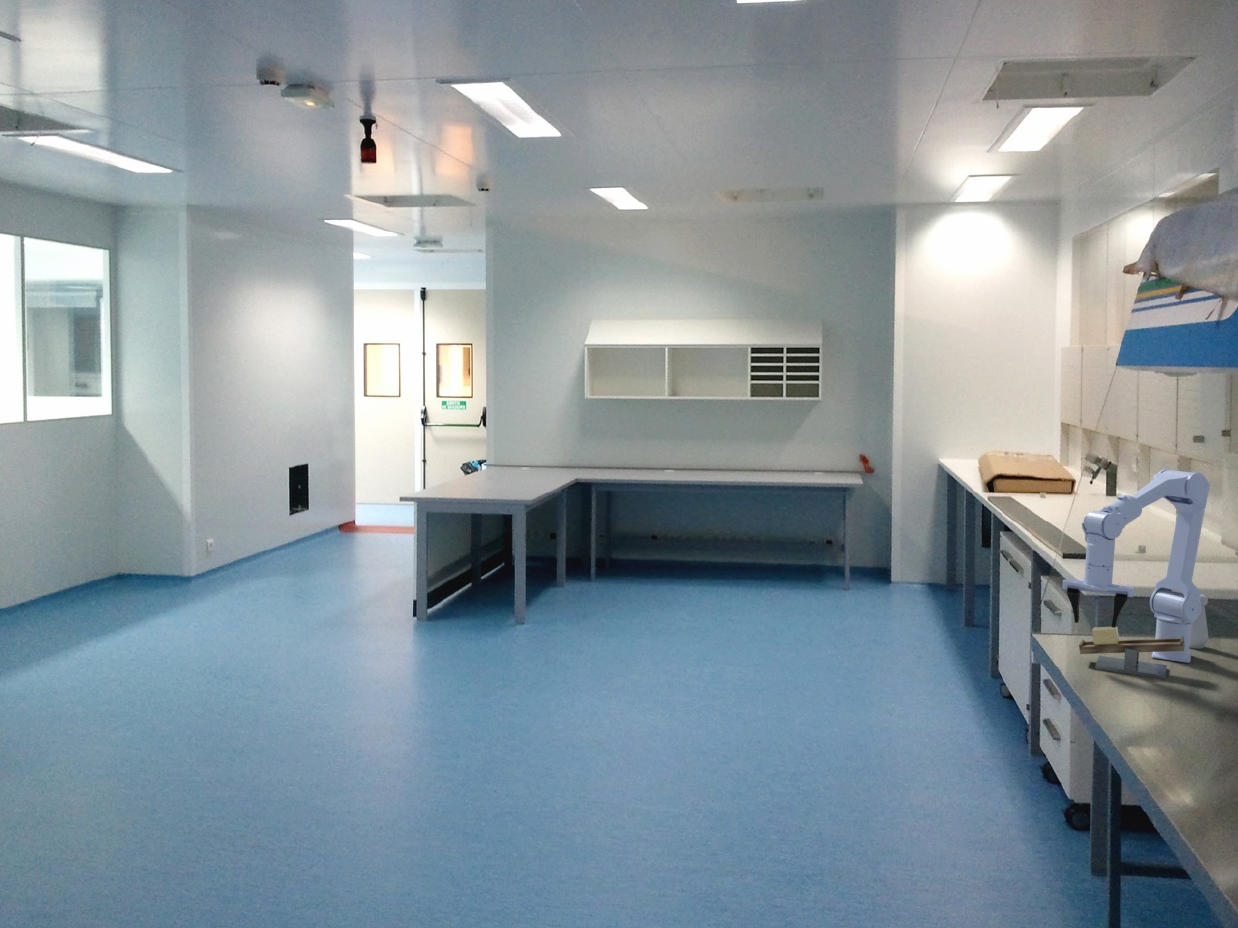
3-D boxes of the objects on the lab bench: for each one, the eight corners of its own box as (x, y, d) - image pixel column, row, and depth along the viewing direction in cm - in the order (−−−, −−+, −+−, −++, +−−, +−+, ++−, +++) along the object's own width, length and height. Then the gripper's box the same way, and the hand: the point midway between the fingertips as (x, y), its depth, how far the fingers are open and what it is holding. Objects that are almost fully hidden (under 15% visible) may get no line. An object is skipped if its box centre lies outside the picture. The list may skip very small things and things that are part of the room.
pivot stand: (1099, 658, 249) (1100, 636, 249) (1166, 668, 242) (1168, 645, 242) (1094, 668, 240) (1096, 645, 240) (1164, 679, 234) (1166, 654, 233)
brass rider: (1095, 644, 246) (1093, 627, 246) (1119, 643, 244) (1117, 626, 244) (1094, 648, 243) (1092, 630, 243) (1118, 647, 241) (1116, 629, 241)
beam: (1080, 658, 243) (1078, 645, 243) (1083, 652, 249) (1082, 639, 249) (1184, 655, 233) (1182, 642, 233) (1185, 649, 239) (1183, 635, 239)
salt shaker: (1210, 650, 260) (1215, 597, 259) (1185, 648, 261) (1189, 596, 260) (1202, 644, 266) (1207, 593, 265) (1177, 642, 267) (1181, 591, 266)
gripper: (1062, 563, 241) (1058, 623, 242) (1134, 571, 234) (1129, 632, 235) (1066, 559, 247) (1062, 617, 248) (1135, 566, 240) (1131, 626, 241)
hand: (1095, 624), depth 242 cm, fingers open, 7 cm apart
